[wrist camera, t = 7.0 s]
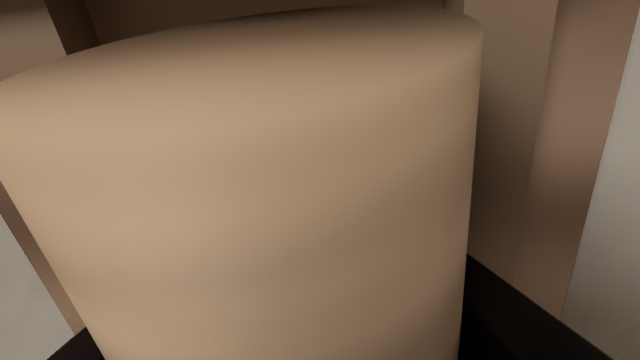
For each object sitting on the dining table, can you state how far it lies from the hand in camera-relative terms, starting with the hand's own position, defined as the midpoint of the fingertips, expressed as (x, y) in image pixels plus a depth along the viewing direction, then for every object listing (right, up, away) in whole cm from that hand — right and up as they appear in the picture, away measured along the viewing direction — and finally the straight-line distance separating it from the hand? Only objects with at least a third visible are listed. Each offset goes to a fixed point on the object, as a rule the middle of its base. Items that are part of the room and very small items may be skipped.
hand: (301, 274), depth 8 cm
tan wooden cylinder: (0, +1, +1) cm, 1 cm away
